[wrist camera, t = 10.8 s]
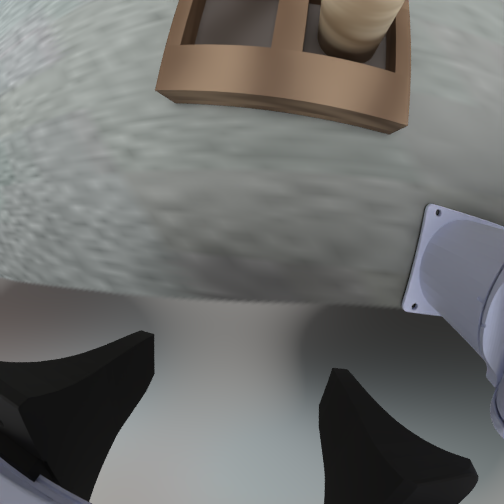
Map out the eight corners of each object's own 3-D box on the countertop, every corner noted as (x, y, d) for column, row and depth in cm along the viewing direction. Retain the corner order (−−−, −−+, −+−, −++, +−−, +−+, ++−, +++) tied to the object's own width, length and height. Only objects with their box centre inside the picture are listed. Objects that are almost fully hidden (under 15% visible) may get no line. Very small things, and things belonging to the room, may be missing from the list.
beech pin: (377, 27, 15) (410, -38, 7) (372, 72, 16) (411, 13, 8) (321, 12, 15) (329, -61, 7) (313, 56, 16) (319, -13, 8)
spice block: (393, 2, 15) (406, -20, 11) (389, 134, 18) (407, 125, 14) (207, -21, 16) (195, -44, 13) (175, 103, 19) (154, 90, 16)
